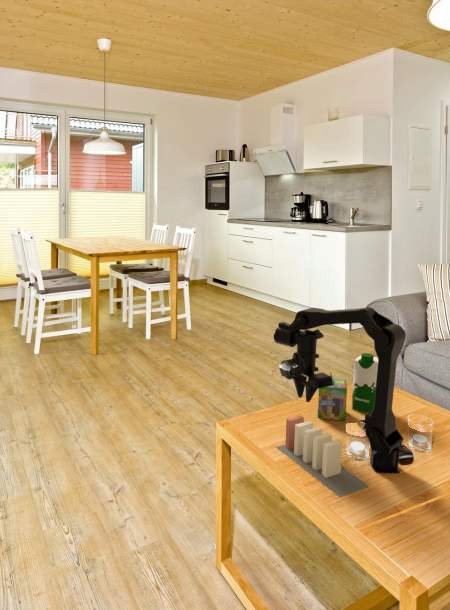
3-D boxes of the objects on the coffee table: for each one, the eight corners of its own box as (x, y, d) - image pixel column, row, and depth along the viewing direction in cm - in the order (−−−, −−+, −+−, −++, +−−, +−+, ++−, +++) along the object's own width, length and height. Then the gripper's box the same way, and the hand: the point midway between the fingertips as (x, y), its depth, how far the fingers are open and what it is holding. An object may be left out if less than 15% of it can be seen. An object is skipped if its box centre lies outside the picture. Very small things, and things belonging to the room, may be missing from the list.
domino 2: (293, 453, 145) (295, 424, 143) (307, 449, 147) (309, 420, 145) (297, 456, 143) (298, 426, 141) (311, 452, 146) (312, 423, 144)
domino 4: (312, 467, 137) (313, 436, 135) (326, 463, 140) (328, 433, 138) (315, 470, 136) (317, 439, 134) (330, 465, 138) (332, 435, 136)
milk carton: (348, 409, 176) (352, 354, 172) (357, 400, 183) (360, 348, 179) (373, 415, 171) (378, 359, 167) (381, 406, 179) (385, 352, 174)
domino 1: (285, 447, 148) (286, 418, 146) (299, 443, 150) (300, 415, 149) (288, 449, 147) (289, 420, 145) (302, 445, 149) (303, 417, 147)
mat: (275, 448, 148) (275, 447, 148) (303, 441, 153) (303, 439, 153) (339, 498, 124) (339, 496, 124) (370, 487, 129) (370, 486, 129)
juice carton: (345, 421, 166) (348, 379, 163) (317, 419, 168) (319, 377, 165) (344, 410, 175) (347, 369, 172) (317, 408, 177) (320, 367, 174)
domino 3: (302, 460, 141) (304, 430, 139) (316, 456, 143) (318, 426, 141) (306, 462, 140) (307, 432, 138) (320, 458, 142) (322, 429, 140)
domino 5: (321, 474, 134) (323, 443, 132) (336, 470, 136) (338, 439, 134) (325, 477, 132) (327, 446, 130) (340, 473, 135) (342, 442, 133)
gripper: (266, 345, 154) (265, 393, 158) (303, 363, 138) (301, 416, 142) (296, 341, 160) (294, 387, 163) (335, 357, 143) (332, 409, 147)
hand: (304, 399), depth 153 cm, fingers open, 4 cm apart
